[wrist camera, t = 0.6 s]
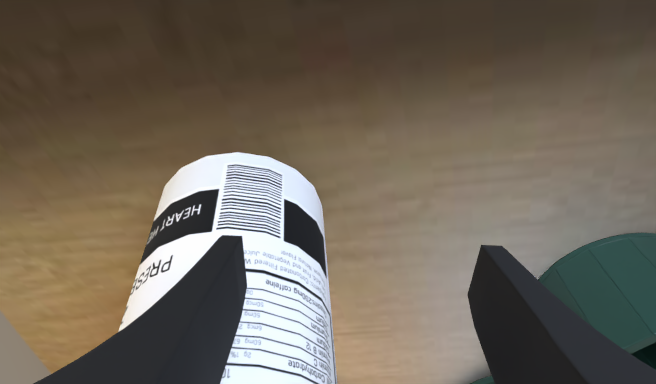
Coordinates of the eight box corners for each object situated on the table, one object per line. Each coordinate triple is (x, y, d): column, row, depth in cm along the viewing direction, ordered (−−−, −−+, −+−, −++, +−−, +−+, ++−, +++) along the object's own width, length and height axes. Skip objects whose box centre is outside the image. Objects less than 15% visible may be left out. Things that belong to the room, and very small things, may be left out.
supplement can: (328, 245, 25) (360, 587, 14) (192, 261, 25) (119, 612, 14) (311, 133, 20) (341, 550, 9) (137, 155, 20) (-49, 592, 9)
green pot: (666, 352, 29) (740, 450, 24) (511, 352, 30) (550, 448, 24) (738, 231, 24) (857, 322, 18) (547, 233, 24) (606, 322, 19)
